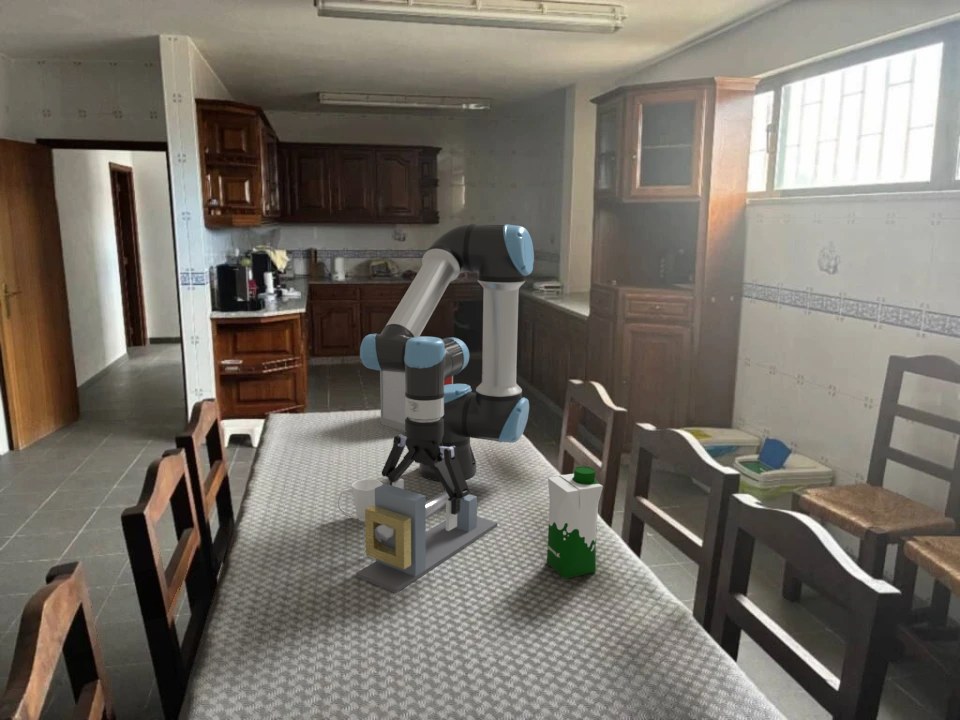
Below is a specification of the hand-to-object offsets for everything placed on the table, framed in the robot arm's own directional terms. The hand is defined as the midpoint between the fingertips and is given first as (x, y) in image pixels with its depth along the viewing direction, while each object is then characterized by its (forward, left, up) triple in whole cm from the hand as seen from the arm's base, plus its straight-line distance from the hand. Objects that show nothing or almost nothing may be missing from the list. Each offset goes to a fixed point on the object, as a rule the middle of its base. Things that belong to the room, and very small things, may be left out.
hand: (423, 519), depth 141 cm
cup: (+3, -23, -8) cm, 24 cm away
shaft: (0, 0, 0) cm, 0 cm away
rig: (-3, -1, -8) cm, 8 cm away
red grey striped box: (-44, -77, -8) cm, 89 cm away
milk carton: (-21, +20, -8) cm, 30 cm away
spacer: (+10, +4, +1) cm, 11 cm away
